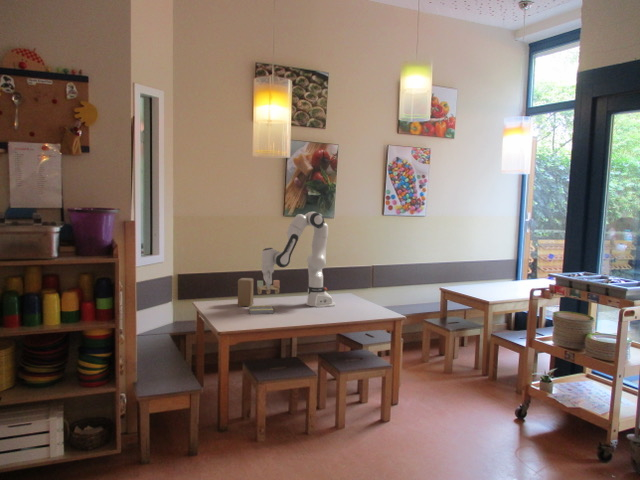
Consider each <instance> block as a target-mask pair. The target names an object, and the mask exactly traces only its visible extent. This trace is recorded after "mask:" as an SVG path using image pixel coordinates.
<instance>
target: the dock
mask: <svg viewBox="0 0 640 480" xmlns="http://www.w3.org/2000/svg"><path fill="white" fill-rule="evenodd" d="M248 311H249V314H250V315H258V314H259V315H260V314H261V315H263V314H265V315H266V314H274V309H273V307H272V305H271V304H268V305H251V306H248Z"/></svg>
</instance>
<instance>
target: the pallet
mask: <svg viewBox="0 0 640 480" xmlns="http://www.w3.org/2000/svg"><path fill="white" fill-rule="evenodd" d="M280 288H281V287H280V286H278V287H274V286H273V284H270V289H267V286H266V285H263V287H258V286H257V285H256V289H257V294H258V295H261V294H263V293H262V291H263V290H265V292H266V294H268V295H269V294H271V290H274V293H275V294H280Z"/></svg>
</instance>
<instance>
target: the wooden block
mask: <svg viewBox="0 0 640 480" xmlns="http://www.w3.org/2000/svg"><path fill="white" fill-rule="evenodd" d="M253 304H254V278H252V277H241V278H239V279H238V280H237V306H238V307H249V306H253Z"/></svg>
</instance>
